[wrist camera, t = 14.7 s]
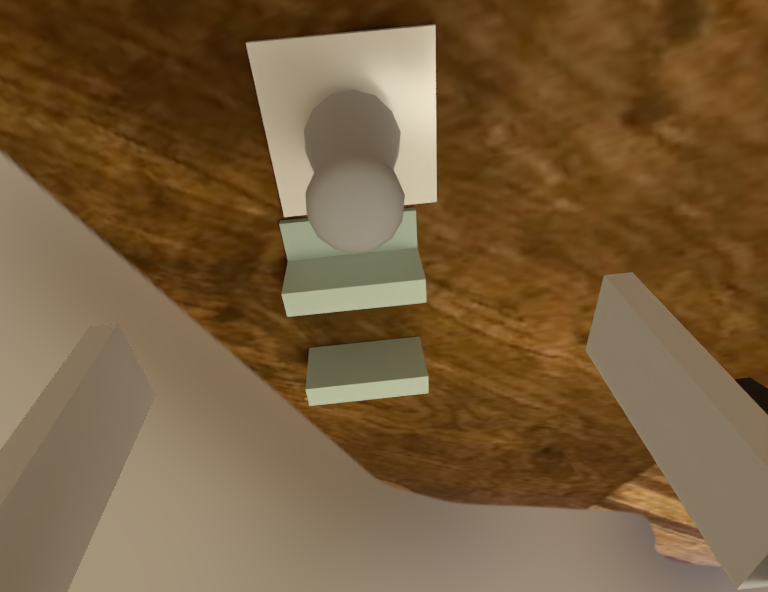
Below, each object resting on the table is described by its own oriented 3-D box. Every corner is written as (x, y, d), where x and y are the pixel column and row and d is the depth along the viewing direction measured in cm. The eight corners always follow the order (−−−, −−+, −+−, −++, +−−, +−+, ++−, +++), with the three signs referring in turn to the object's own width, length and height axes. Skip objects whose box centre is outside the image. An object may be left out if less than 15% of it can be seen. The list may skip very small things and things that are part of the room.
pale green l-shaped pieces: (280, 220, 34) (271, 254, 30) (414, 206, 34) (424, 239, 30) (318, 387, 44) (315, 429, 40) (421, 376, 44) (429, 417, 40)
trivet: (247, 41, 27) (245, 43, 26) (433, 23, 27) (435, 25, 26) (285, 212, 33) (284, 217, 33) (434, 197, 33) (436, 201, 33)
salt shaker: (360, 61, 27) (372, 112, 17) (413, 139, 30) (452, 226, 19) (287, 122, 29) (254, 204, 18) (344, 190, 32) (344, 297, 21)
